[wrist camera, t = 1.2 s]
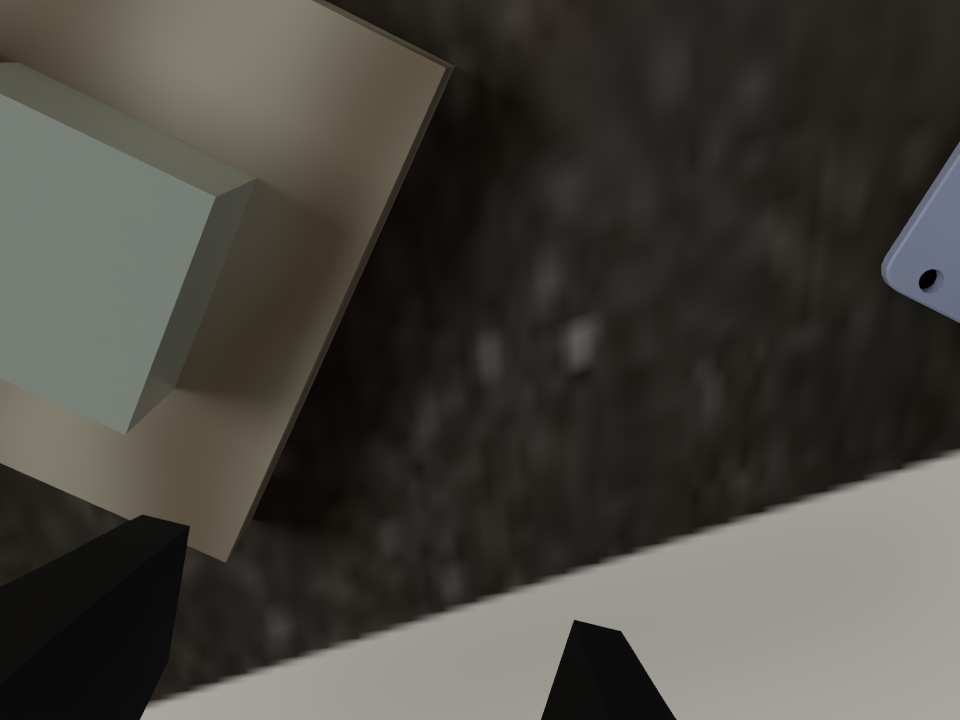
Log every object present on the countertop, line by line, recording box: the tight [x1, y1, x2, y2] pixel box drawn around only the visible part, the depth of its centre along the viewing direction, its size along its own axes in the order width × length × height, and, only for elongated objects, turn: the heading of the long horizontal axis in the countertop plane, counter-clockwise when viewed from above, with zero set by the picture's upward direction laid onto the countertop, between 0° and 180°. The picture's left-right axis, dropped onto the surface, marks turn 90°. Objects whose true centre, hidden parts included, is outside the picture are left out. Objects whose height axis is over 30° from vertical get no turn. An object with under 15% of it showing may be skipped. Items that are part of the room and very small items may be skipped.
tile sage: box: [0, 62, 257, 435], centre depth 18 cm, size 5×5×2 cm
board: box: [0, 0, 455, 562], centre depth 20 cm, size 14×12×2 cm
